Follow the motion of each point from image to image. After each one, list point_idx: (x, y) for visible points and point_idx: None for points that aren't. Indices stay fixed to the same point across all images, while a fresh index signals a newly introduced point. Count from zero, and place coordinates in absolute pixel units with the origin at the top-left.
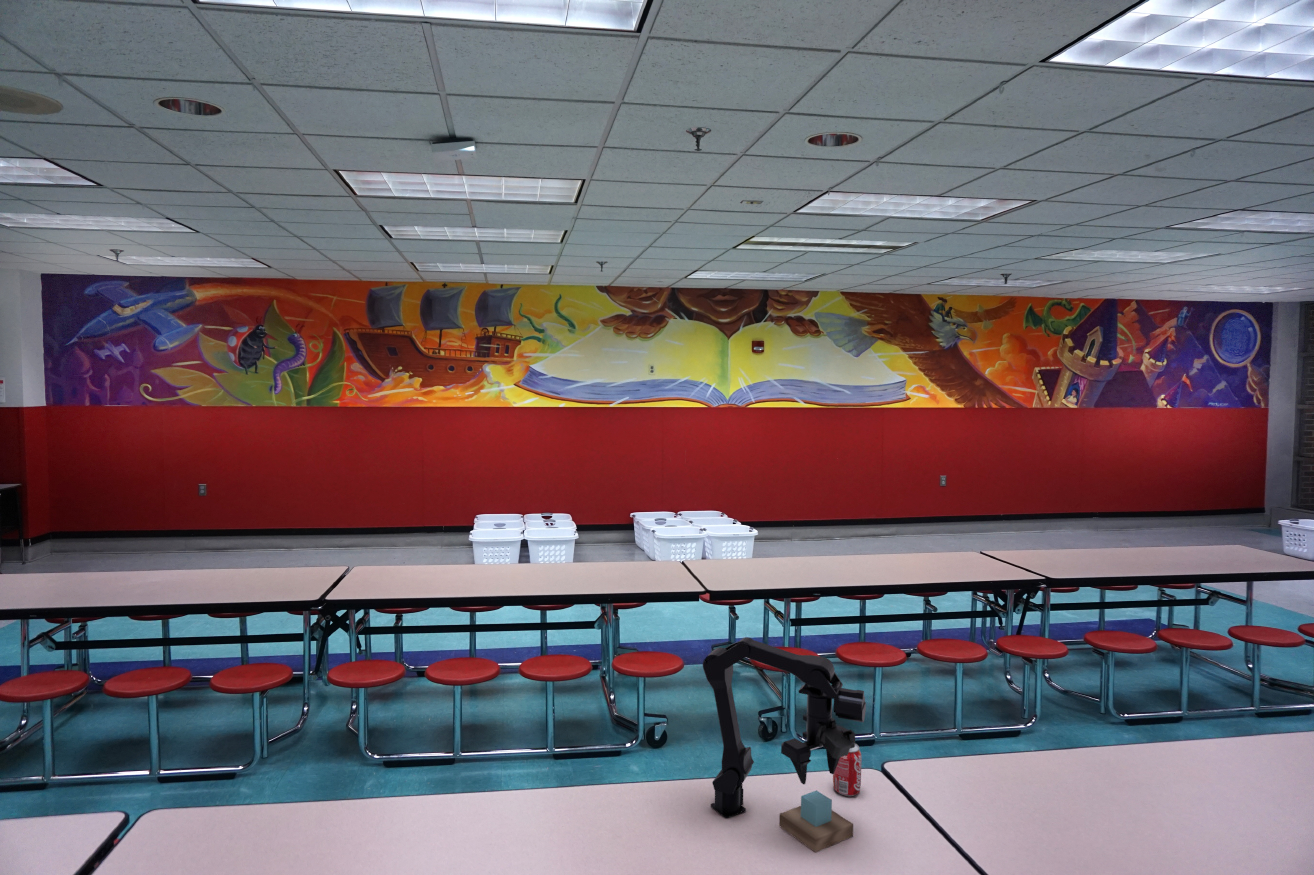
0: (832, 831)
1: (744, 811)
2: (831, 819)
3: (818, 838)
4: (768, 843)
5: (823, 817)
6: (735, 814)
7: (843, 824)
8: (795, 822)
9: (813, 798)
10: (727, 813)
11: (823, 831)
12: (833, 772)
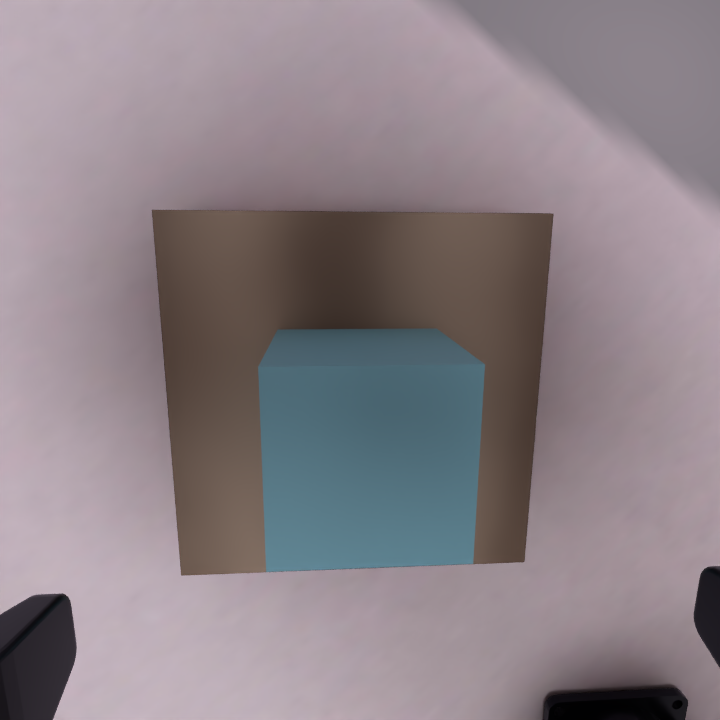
0: (374, 220)
1: (561, 696)
2: (263, 340)
3: (526, 213)
4: (666, 424)
5: (365, 337)
6: (624, 693)
7: (230, 243)
8: (513, 439)
9: (403, 479)
10: (661, 714)
11: (430, 258)
12: (35, 609)
